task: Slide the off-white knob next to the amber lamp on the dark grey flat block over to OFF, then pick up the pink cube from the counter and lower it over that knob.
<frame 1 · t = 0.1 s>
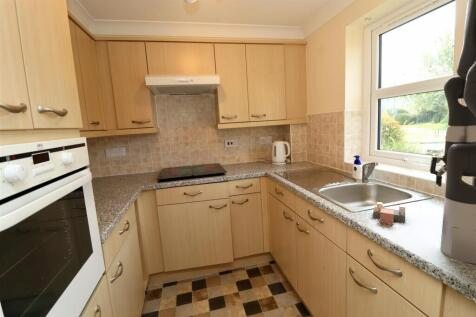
hand: (456, 187, 79), 17 cm above the counter, tool pointing down, fingers open, 8 cm apart
dark grey flat block: (388, 216, 98), on the counter
pink cube: (386, 221, 94), on the counter
breaker tagged: (379, 205, 100), point 4 cm above the counter, slide at 0.0 cm
breaker plain: (402, 209, 95), point 4 cm above the counter, slide at 0.0 cm
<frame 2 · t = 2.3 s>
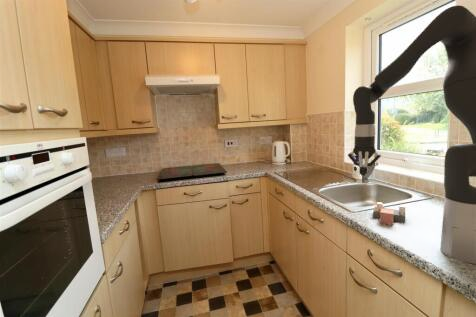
hand: (363, 175, 102), 17 cm above the counter, tool pointing down, fingers closed
nothing on the counter moved.
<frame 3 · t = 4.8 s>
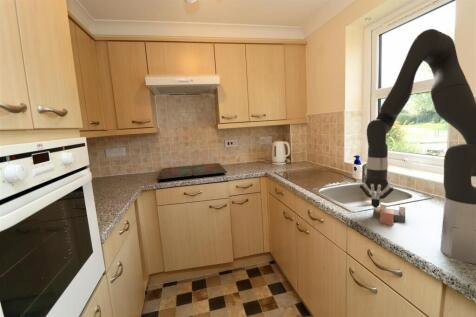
hand: (375, 207, 101), 3 cm above the counter, tool pointing down, fingers closed
breaker tagged: (383, 206, 99), point 4 cm above the counter, slide at 1.3 cm, touching gripper
everything else where it was.
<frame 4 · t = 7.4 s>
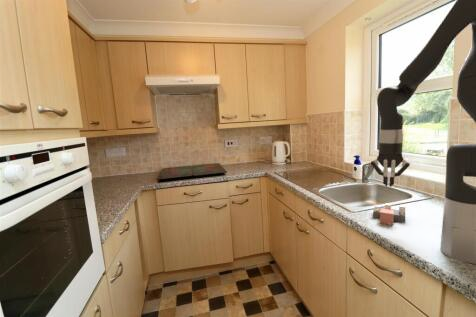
hand: (388, 185, 92), 15 cm above the counter, tool pointing down, fingers closed
breaker tagged: (388, 207, 98), point 4 cm above the counter, slide at 3.1 cm
everything else where it was.
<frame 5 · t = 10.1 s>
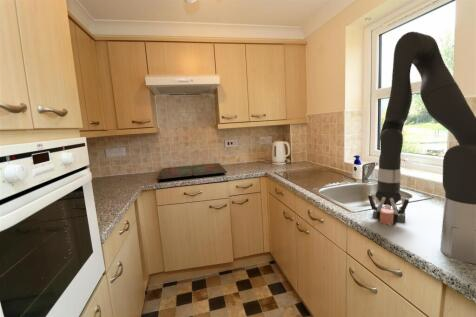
hand: (386, 220, 94), 0 cm above the counter, tool pointing down, fingers closed on pink cube, 4 cm apart
pink cube: (386, 221, 94), on the counter, touching gripper
everything else where it was.
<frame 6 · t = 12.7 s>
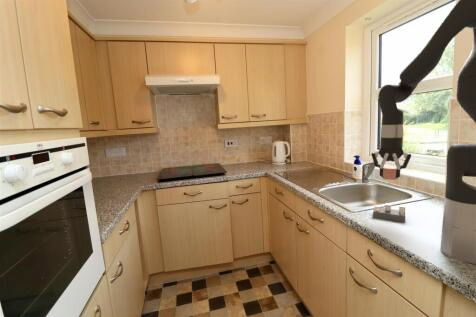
hand: (389, 177, 96), 17 cm above the counter, tool pointing down, fingers closed on pink cube, 4 cm apart
pink cube: (389, 178, 96), point 16 cm above the counter, touching gripper
everything else where it was.
when the fingers open (4 cm above the counter, at t = 15.3 s): pink cube drops 1 cm, resting on dark grey flat block.
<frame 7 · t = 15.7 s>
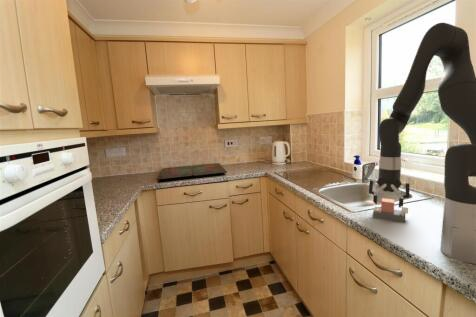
hand: (387, 205, 98), 5 cm above the counter, tool pointing down, fingers open, 8 cm apart
pink cube: (387, 210, 99), point 2 cm above the counter, touching dark grey flat block
breaker plain: (404, 209, 95), point 4 cm above the counter, slide at 0.9 cm, touching gripper
everything else where it was.
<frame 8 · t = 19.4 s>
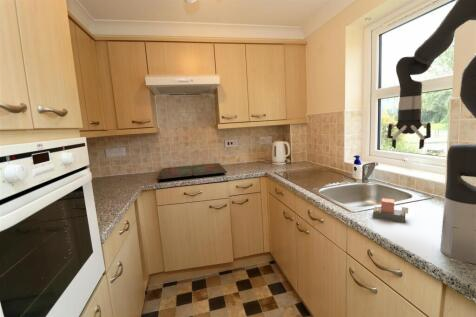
hand: (407, 148, 97), 28 cm above the counter, tool pointing down, fingers open, 8 cm apart
breaker plain: (405, 209, 95), point 4 cm above the counter, slide at 1.0 cm
everything else where it was.
at the end: breaker tagged slide at 3.1 cm; pink cube 0.1 cm from the target spot, point 2.5 cm above the counter; breaker plain slide at 1.0 cm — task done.
